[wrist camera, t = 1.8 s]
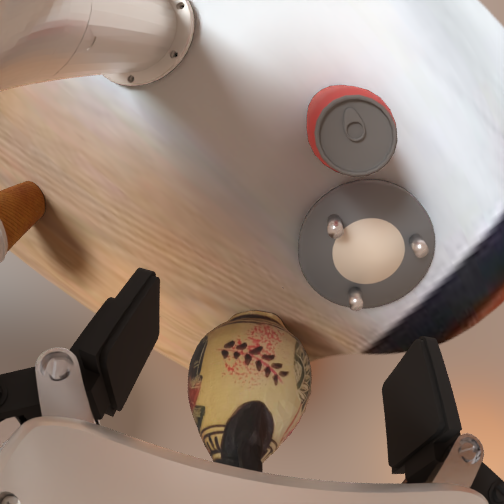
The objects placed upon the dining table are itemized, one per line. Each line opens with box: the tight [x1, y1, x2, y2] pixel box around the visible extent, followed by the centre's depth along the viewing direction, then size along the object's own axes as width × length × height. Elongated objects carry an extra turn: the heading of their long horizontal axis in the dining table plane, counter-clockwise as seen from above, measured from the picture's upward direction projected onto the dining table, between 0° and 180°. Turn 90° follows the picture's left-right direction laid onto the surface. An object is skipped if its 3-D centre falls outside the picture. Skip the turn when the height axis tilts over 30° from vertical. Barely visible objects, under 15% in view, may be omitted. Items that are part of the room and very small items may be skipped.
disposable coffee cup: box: [0, 181, 45, 262], centre depth 36 cm, size 10×10×12 cm
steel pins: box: [327, 214, 428, 311], centre depth 34 cm, size 10×11×2 cm
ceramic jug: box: [188, 287, 312, 472], centre depth 32 cm, size 17×15×30 cm
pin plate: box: [298, 179, 435, 308], centre depth 35 cm, size 16×16×2 cm
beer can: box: [307, 85, 397, 177], centre depth 24 cm, size 7×7×12 cm
